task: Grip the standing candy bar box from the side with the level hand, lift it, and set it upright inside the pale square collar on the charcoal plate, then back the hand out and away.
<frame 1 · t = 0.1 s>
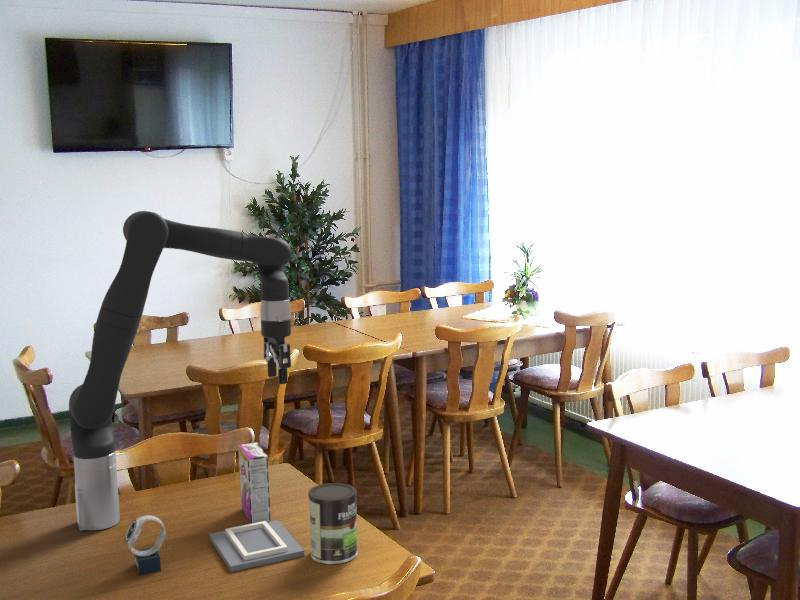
hand: (277, 380, 214), 29 cm above the table, tool pointing down, fingers open, 8 cm apart
coffee can: (334, 554, 181), on the table
watch: (147, 568, 175), on the table
collar plate: (255, 547, 184), on the table
candy bar box: (255, 516, 202), on the table
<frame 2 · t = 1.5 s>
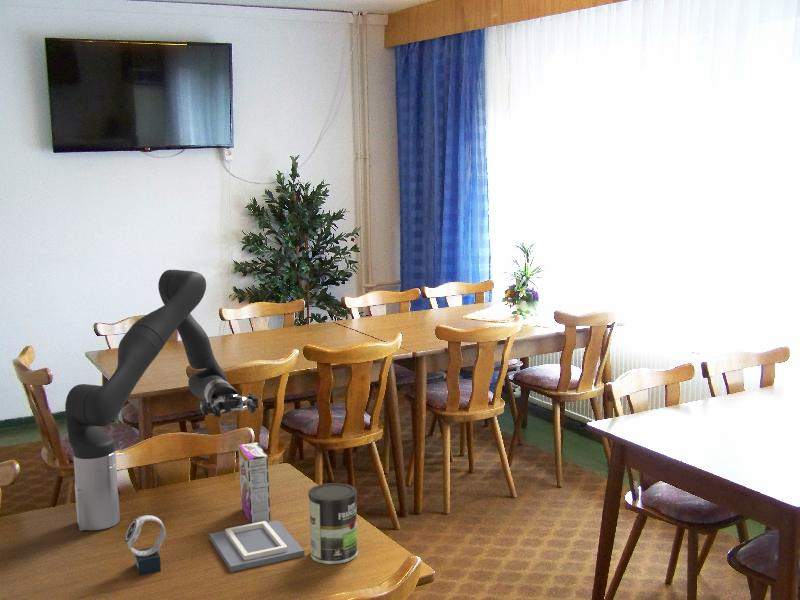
hand: (236, 411, 210), 22 cm above the table, tool horizontal, fingers open, 8 cm apart
nothing on the table moved.
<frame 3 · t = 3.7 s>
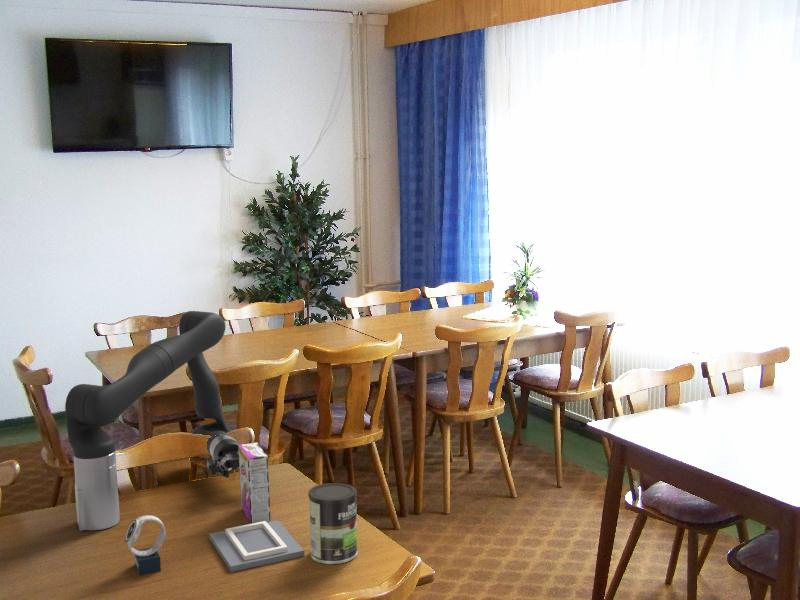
hand: (244, 471, 207), 9 cm above the table, tool horizontal, fingers open, 8 cm apart
nothing on the table moved.
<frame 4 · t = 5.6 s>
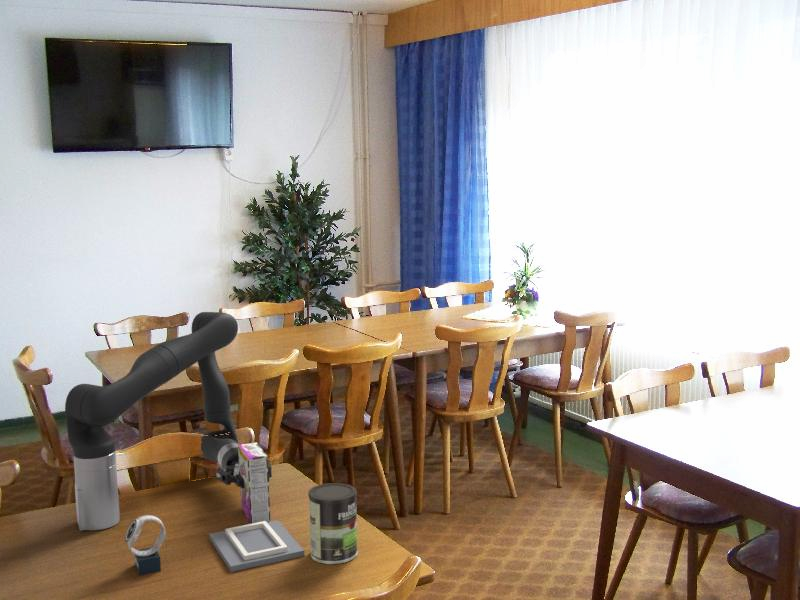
hand: (254, 482, 200), 9 cm above the table, tool horizontal, fingers closed on candy bar box, 5 cm apart
candy bar box: (255, 516, 202), on the table, touching gripper
everything else where it was.
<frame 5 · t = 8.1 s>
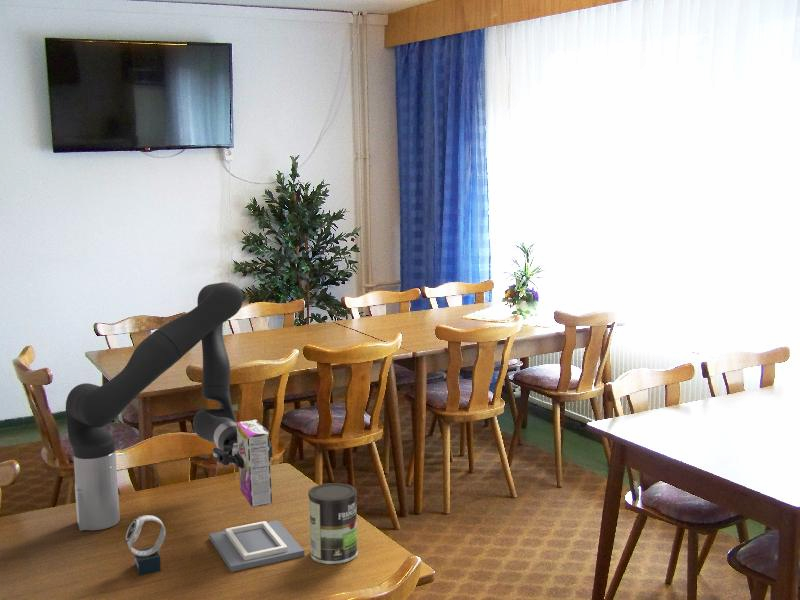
hand: (254, 461, 186), 18 cm above the table, tool horizontal, fingers closed on candy bar box, 5 cm apart
candy bar box: (255, 498, 188), point 9 cm above the table, touching gripper
everything else where it was.
when the fingers open (11 cm above the table, at t = 10.5 s): candy bar box drops 1 cm, resting on collar plate.
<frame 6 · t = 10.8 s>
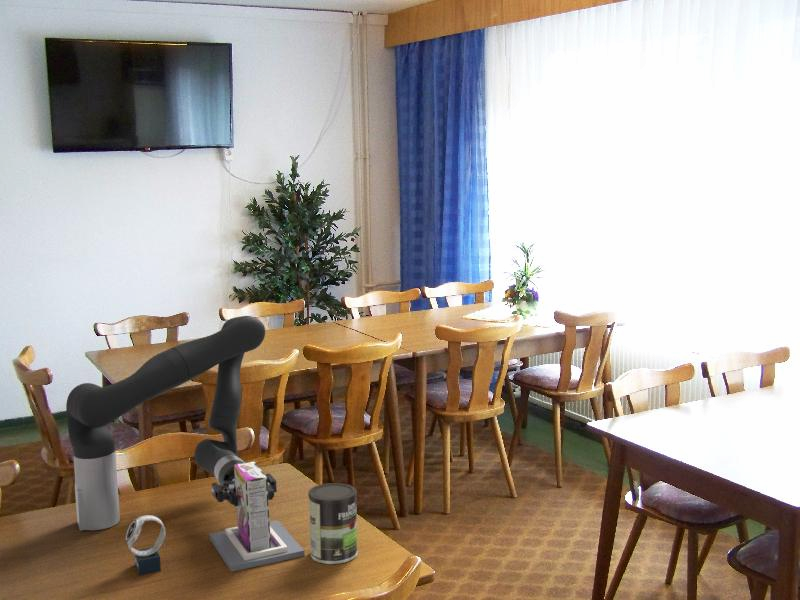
hand: (254, 498, 182), 11 cm above the table, tool horizontal, fingers open, 7 cm apart
candy bar box: (253, 542, 184), point 1 cm above the table, touching collar plate
everything else where it was.
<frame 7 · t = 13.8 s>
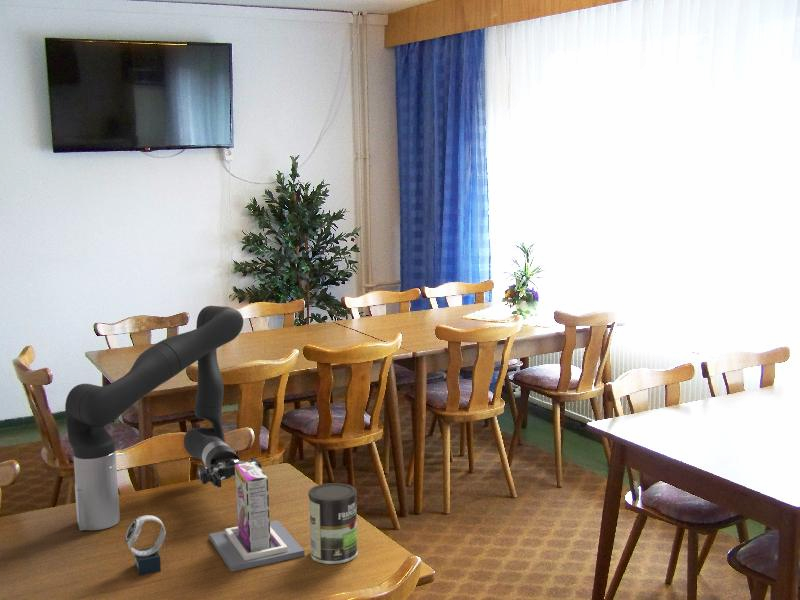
hand: (238, 480, 194), 11 cm above the table, tool horizontal, fingers open, 8 cm apart
nothing on the table moved.
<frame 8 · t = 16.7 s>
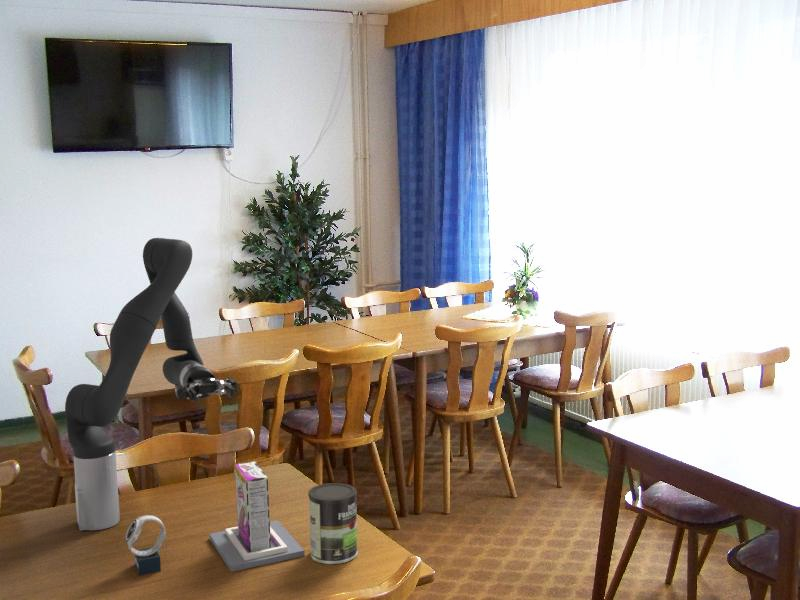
hand: (213, 395, 196), 30 cm above the table, tool horizontal, fingers open, 8 cm apart
nothing on the table moved.
at the end: candy bar box 0.4 cm off-centre on the collar plate, point 1.0 cm above the collar plate's base; candy bar box tilted 0°; the gripper is holding nothing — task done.
